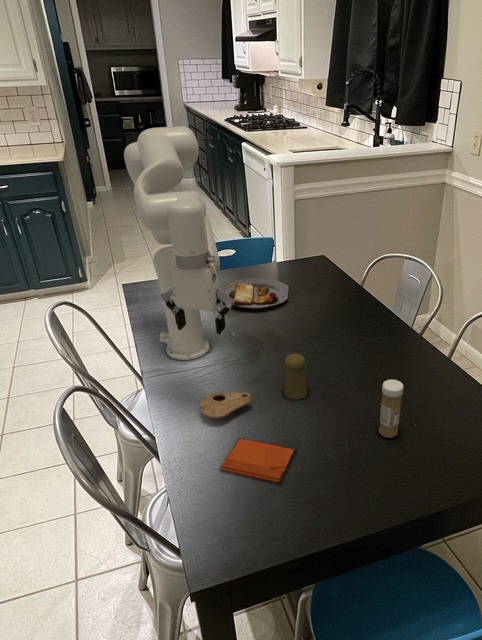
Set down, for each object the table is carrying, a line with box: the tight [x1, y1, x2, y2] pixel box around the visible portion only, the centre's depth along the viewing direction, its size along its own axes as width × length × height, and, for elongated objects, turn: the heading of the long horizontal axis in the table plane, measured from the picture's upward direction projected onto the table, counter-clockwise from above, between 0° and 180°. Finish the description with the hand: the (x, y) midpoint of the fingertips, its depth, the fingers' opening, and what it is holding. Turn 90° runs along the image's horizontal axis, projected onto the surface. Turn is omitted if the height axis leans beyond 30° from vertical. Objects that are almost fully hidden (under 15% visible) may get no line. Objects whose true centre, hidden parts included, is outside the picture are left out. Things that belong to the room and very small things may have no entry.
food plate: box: [222, 277, 290, 310], centre depth 180 cm, size 25×23×4 cm
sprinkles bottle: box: [378, 379, 404, 439], centre depth 113 cm, size 5×5×13 cm
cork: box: [283, 353, 308, 400], centre depth 127 cm, size 6×6×11 cm
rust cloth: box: [220, 438, 295, 484], centre depth 109 cm, size 13×10×1 cm
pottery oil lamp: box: [199, 391, 253, 419], centre depth 122 cm, size 9×12×7 cm
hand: (201, 329), depth 117 cm, fingers open, 9 cm apart
